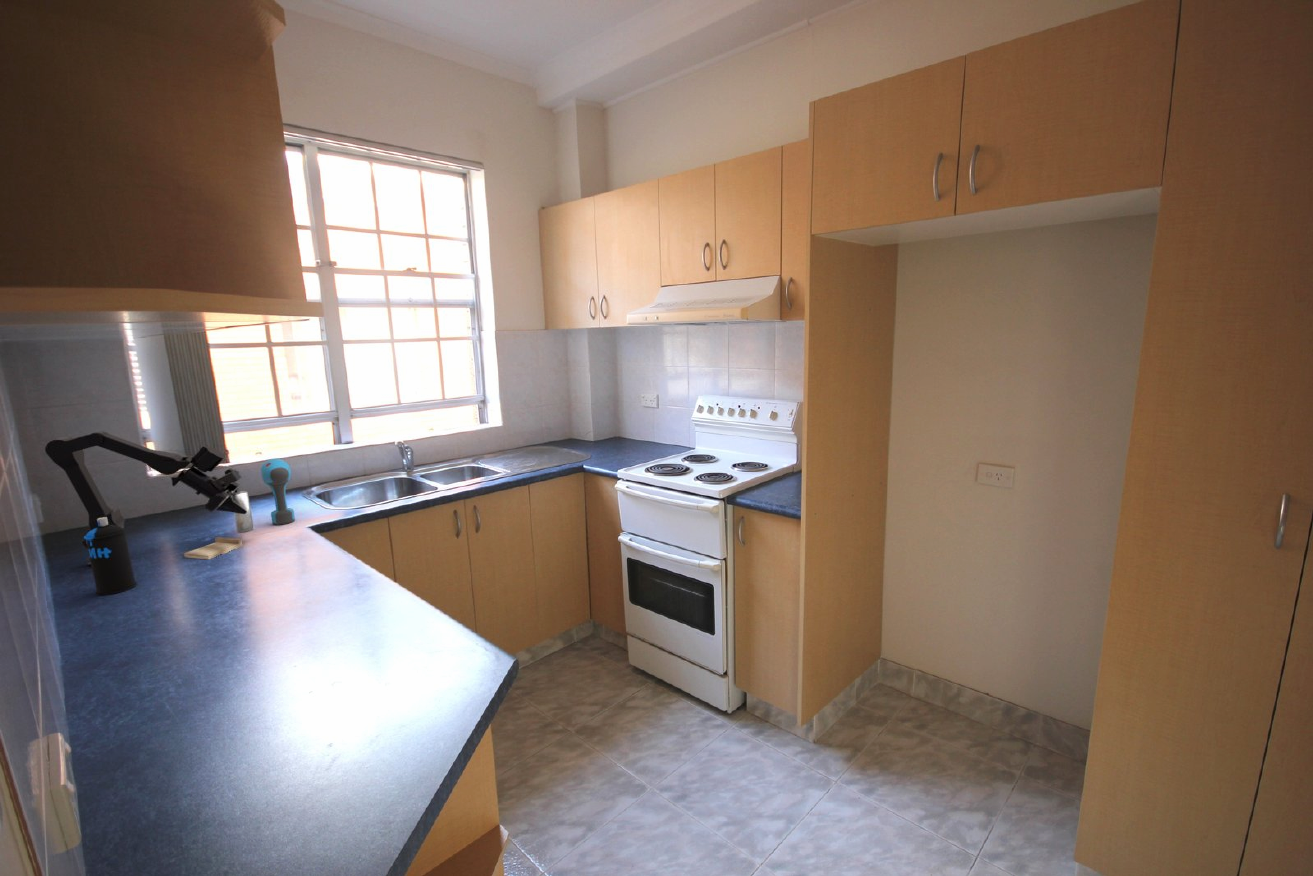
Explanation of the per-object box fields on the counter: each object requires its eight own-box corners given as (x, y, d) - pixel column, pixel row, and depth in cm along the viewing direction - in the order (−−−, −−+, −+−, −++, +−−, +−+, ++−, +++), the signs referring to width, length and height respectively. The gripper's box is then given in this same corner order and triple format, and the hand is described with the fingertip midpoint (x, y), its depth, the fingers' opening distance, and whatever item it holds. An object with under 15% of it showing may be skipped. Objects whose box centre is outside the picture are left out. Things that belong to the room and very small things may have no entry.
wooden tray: (208, 559, 177) (207, 551, 177) (184, 557, 180) (183, 549, 180) (242, 546, 188) (241, 538, 187) (219, 544, 190) (217, 537, 190)
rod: (244, 533, 190) (238, 495, 187) (233, 532, 191) (227, 494, 189) (257, 529, 194) (251, 491, 192) (246, 528, 195) (240, 490, 193)
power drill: (262, 514, 223) (253, 455, 219) (288, 509, 229) (280, 451, 225) (273, 531, 202) (263, 466, 198) (302, 525, 208) (292, 461, 204)
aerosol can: (124, 581, 163) (110, 512, 159) (144, 584, 160) (130, 514, 157) (88, 593, 155) (72, 522, 151) (109, 597, 152) (93, 524, 149)
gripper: (212, 468, 178) (259, 498, 185) (227, 458, 195) (270, 485, 201) (184, 497, 176) (233, 526, 183) (202, 483, 193) (246, 511, 200)
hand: (247, 511), depth 192 cm, fingers closed on rod, 4 cm apart
